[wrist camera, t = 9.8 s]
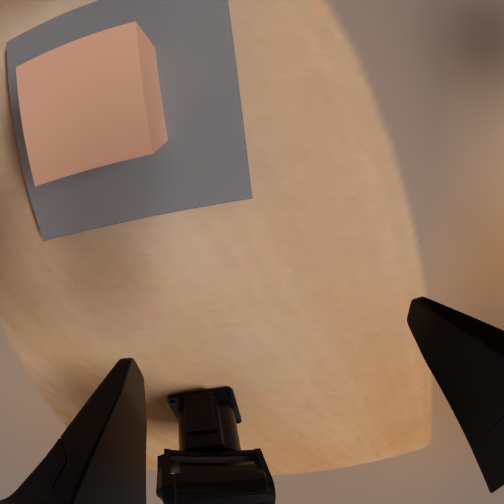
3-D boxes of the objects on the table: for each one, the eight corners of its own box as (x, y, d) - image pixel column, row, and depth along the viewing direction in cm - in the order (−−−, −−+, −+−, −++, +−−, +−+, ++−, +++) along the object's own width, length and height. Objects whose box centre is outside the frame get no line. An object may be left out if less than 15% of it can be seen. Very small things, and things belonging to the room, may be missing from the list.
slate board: (249, 193, 19) (252, 198, 18) (50, 233, 18) (43, 241, 16) (223, -18, 12) (224, -25, 11) (15, 44, 11) (6, 42, 10)
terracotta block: (168, 140, 15) (153, 153, 11) (79, 162, 15) (35, 186, 10) (155, 47, 13) (135, 21, 8) (64, 74, 12) (15, 67, 8)
